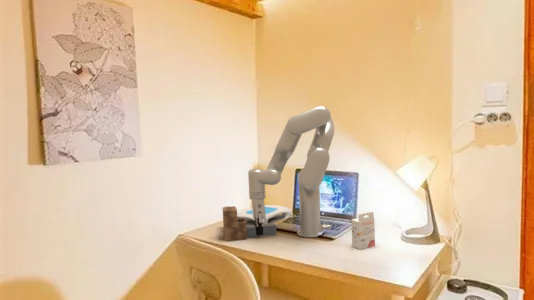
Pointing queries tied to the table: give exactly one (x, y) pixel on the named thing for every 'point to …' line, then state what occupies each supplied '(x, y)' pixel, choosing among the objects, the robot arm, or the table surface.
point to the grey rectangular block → (267, 230)
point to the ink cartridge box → (363, 231)
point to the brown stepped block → (233, 225)
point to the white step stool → (266, 214)
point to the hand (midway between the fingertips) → (259, 233)
